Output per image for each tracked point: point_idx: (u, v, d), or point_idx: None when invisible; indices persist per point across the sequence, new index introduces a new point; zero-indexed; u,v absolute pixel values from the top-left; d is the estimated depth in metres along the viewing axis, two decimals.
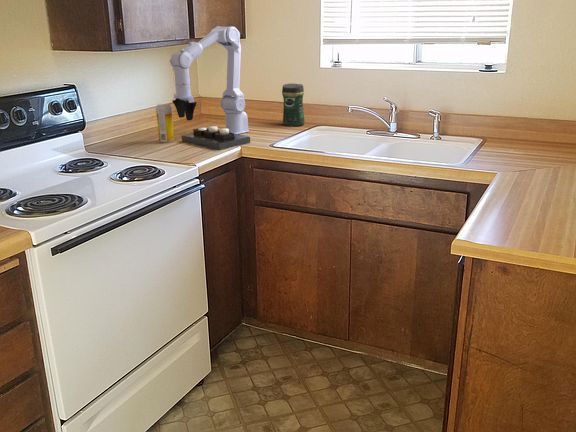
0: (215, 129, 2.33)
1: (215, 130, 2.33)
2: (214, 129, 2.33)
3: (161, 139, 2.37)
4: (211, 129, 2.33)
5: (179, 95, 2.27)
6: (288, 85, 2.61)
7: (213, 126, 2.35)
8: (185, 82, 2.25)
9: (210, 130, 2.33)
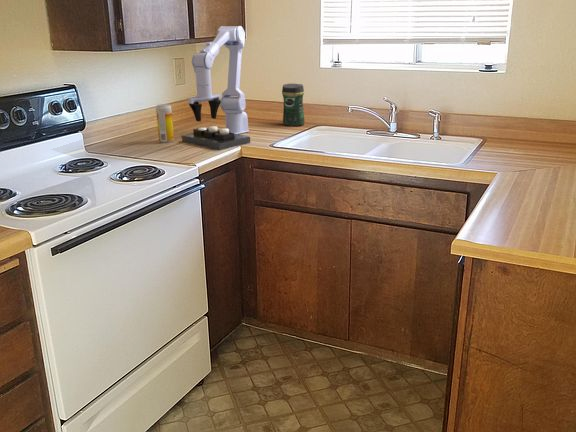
0: (215, 129, 2.33)
1: (215, 130, 2.33)
2: (214, 129, 2.33)
3: (161, 139, 2.37)
4: (211, 129, 2.33)
5: None
6: (288, 85, 2.61)
7: (213, 126, 2.35)
8: (208, 83, 2.25)
9: (210, 130, 2.33)
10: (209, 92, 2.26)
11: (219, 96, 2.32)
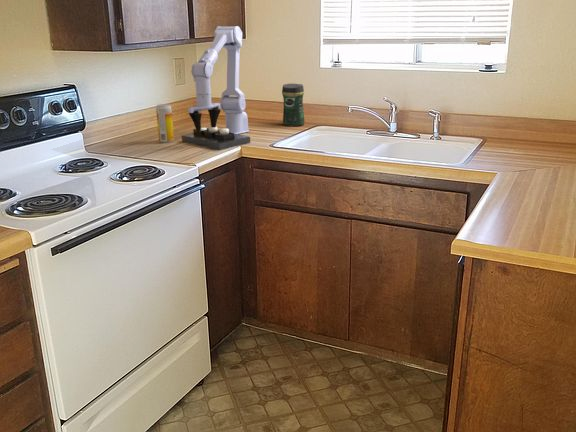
0: (215, 129, 2.33)
1: (215, 130, 2.33)
2: (214, 129, 2.33)
3: (161, 139, 2.37)
4: (211, 129, 2.33)
5: None
6: (288, 85, 2.61)
7: None
8: (208, 92, 2.25)
9: (210, 130, 2.33)
10: (209, 101, 2.26)
11: (219, 105, 2.33)
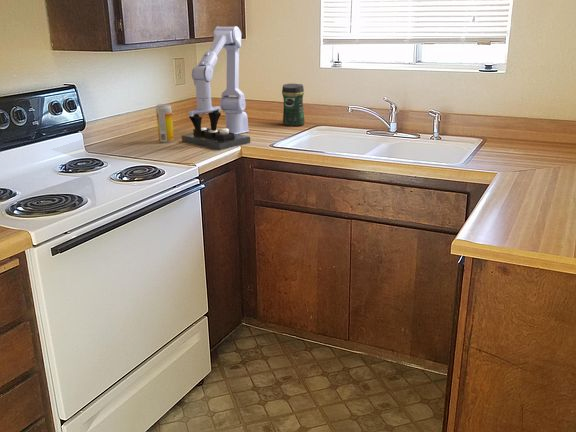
0: None
1: None
2: None
3: (161, 139, 2.37)
4: (211, 132, 2.33)
5: None
6: (288, 85, 2.61)
7: None
8: (208, 95, 2.26)
9: None
10: (209, 105, 2.27)
11: (219, 108, 2.33)
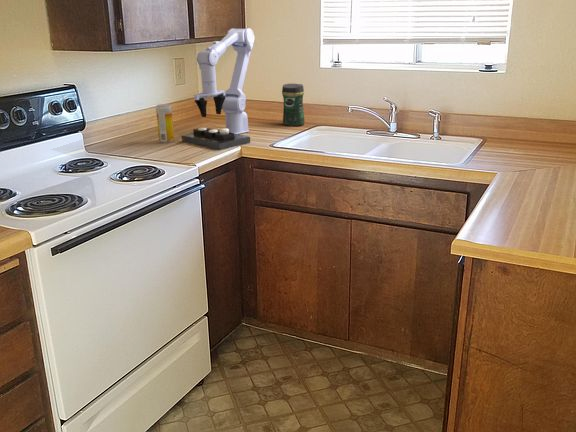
0: None
1: None
2: None
3: (161, 139, 2.37)
4: (211, 132, 2.33)
5: None
6: (288, 85, 2.61)
7: None
8: (213, 79, 2.31)
9: None
10: (214, 88, 2.32)
11: (224, 92, 2.38)
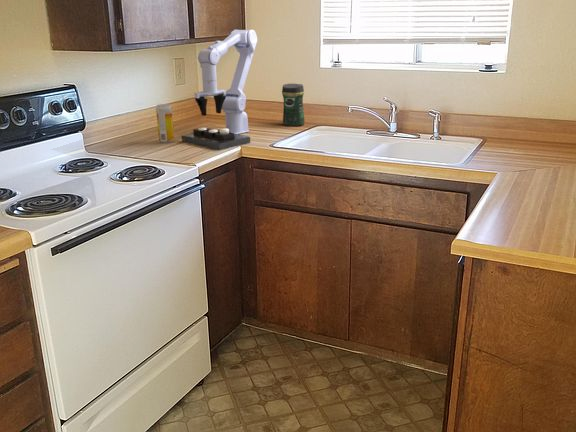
0: None
1: None
2: None
3: (161, 139, 2.37)
4: (211, 132, 2.33)
5: None
6: (288, 85, 2.61)
7: None
8: (213, 78, 2.32)
9: None
10: (214, 87, 2.33)
11: (224, 91, 2.39)
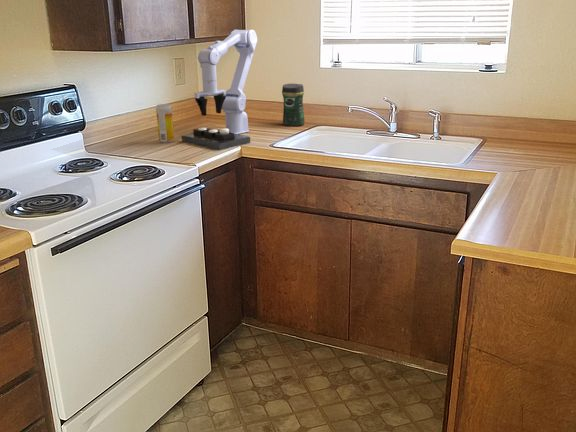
0: None
1: None
2: None
3: (161, 139, 2.37)
4: (211, 132, 2.33)
5: None
6: (288, 85, 2.61)
7: None
8: (213, 78, 2.32)
9: None
10: (214, 87, 2.33)
11: (224, 91, 2.39)
